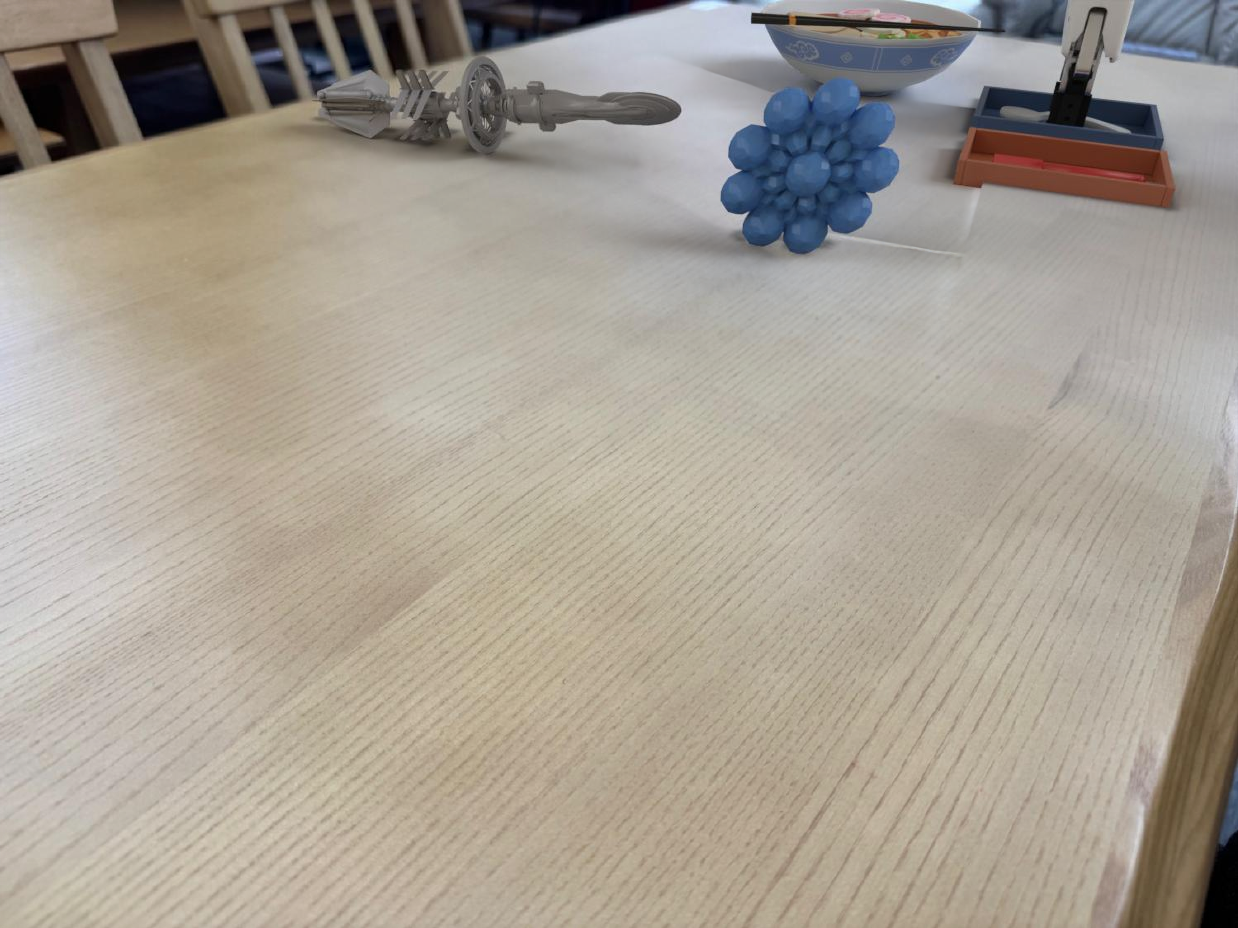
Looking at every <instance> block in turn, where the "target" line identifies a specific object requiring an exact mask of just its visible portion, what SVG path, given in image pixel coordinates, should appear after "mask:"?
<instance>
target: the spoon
mask: <svg viewBox="0 0 1238 928" xmlns="http://www.w3.org/2000/svg"><path fill="white" fill-rule="evenodd" d="M1049 113H1050V112H1036V111H1033V110H1029V109H1025V108H1020V107H1013V106H1004V107H1002V108H1001V110H1000V116H1001V118H1008V119H1016V120H1024V121H1033V122H1041V121H1046V120H1048V117H1049ZM1084 126H1085V127H1088V128H1091V129H1099V130H1108V131H1116V132H1125V133H1131V132H1130V131H1129V130H1127V129H1124V128H1122V127H1119V126H1116V125H1112V124H1109V123H1106V122H1103V121H1100V120H1096V119H1093V118H1090V117H1086V120H1085V123H1084Z"/></svg>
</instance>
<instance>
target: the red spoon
mask: <svg viewBox="0 0 1238 928" xmlns="http://www.w3.org/2000/svg"><path fill="white" fill-rule="evenodd" d="M992 162H994V163H1002V164H1009V165H1017V166H1025V167H1032V168H1040V169H1047V170H1055V171H1062V172H1070V173H1077V174H1085V175H1093V176H1100V177H1108V178H1115V179H1123V180H1130V181H1138V182H1145V183H1147V181H1146V180H1145V177H1144V176H1142V175H1138V174H1131V173H1123V172H1115V171H1108V170H1100V169H1092V168H1085V167H1077V166H1069V165H1062V164H1054V163H1046V162H1043V160H1041V159H1033V158H1025V157H1017V156H1010V155H1002V154H994V158H993V161H992Z"/></svg>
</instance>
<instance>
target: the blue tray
mask: <svg viewBox="0 0 1238 928" xmlns="http://www.w3.org/2000/svg"><path fill="white" fill-rule="evenodd" d="M1053 93H1054V92H1044V91H1037V90H1028V89H1027V90H1026V89H1019V88H1009V87H1002V86H1001V87H1000V86H992V85H991V86H990V85H983V88H982V90H981V94H980V96H979V100H978V101H977V104H976V105H977V106H976V109H975V110H974V114H973V117H972V121H971V126H970V127H974V128H982V129H990V130H998V131H1006V132H1015V133H1023V134H1031V135H1039V136H1047V137H1055V138H1063V139H1071V140H1079V141H1087V142H1095V143H1104V144H1112V145H1120V146H1128V147H1136V148H1144V149H1152V150H1159V151H1162V147H1163V144H1164V142H1165V136H1164V132H1163V127H1162V123H1161V119H1160V114H1159V110H1158V109H1159V108H1158V105H1157V104H1152V103H1145V102H1144V103H1143V102H1136V101H1126V100H1118V99H1117V100H1116V99H1109V98H1099V97H1092V99H1091V102H1090V106H1089V109H1088V113H1087V116H1086V117H1090V118H1093V119H1096V120H1100V121H1103V122H1106V123H1109V124H1112V125H1116V126H1119V127H1122V128H1124V129H1127V130H1129V131H1130V132H1131V133H1125V132H1116V131H1108V130H1099V129H1091V128H1088V127H1085V126H1084V127H1074V126H1066V125H1058V124H1049V123H1046V121H1041V122H1033V121H1024V120H1016V119H1008V118H1001V116H1000V110H1001V108H1002V107H1004V106H1013V107H1020V108H1025V109H1029V110H1033V111H1036V112H1049V108H1050V104H1051V100H1052V96H1053Z"/></svg>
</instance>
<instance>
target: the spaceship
mask: <svg viewBox="0 0 1238 928" xmlns="http://www.w3.org/2000/svg"><path fill="white" fill-rule="evenodd" d="M417 72H418V73H417V75H416V73H415V71H414V69H407V71H406V73H407V76H408V79H409V81H408V80H407V77H406V75H405V73H404V72H403V70H402V69H396V70H395V74H396V77H397V79H398V83H399V85H400V87H399V90H400V92H399V94H398V97H395V96H390V83H388V82H387V81H386V80H385V79H383V78H382V77H381V76H379V75H378V74H377V73H375V72H374V71H373V70H372V69H368V70H366V71H363V72H360V73H357V74H355V75H352V76H349V77H346V78H344V79H341V80H339V81H336V82H334V83H332V84H331V85H330V86H327V87H325V88H323V89H320V90H317V92H316V98H317V99H311V101H312V102H317V103H320V105H321V107H319V108H318V114H317V115H318V116H319V117H321V118H323V119H325V120H328V121H330V122H332V124H334V125H337V126H338V127H341V128H343V129H346V130H348V131H351V132H354V133H357V134H359V135H361V136H364V137H366V138H369V139H372V138H374V137H375V136H376V135H378V134H379V133H381V132H382V131H384V130H385V129H387V127H389V126H390V125H391V120H392V119H393V120H395V119H397V116H398V114H399V112H400V113H402V115H401V117H400V118H401V120H407V119H408V118H411V119H412V122H414V123H412V124H411V126H410V127H409V128H407V130H406V131H405V132H404V133H403V134H402V135H401V137H400V138H399V140H401V141H402V140H404V141H405V140H406V139H407V138H408V137H409V136H410V135H412V134H413V132H414V131H415V130H416V129H418V130H417V131H416V133H415V134H413V136H412V137H411V138H410V140H411V141H416V140H417V139H419V138H420V137H421V136H422V138H421V141H428V140H429V139H430V138H431V137H432V136H433V138H434V139H440V138H441V134H440V131H439V129H440V130H441V132H442V134H443V136H444V138H445V139H451V138H452V134H451V132H450V127H449V125H448V123H447V122H448V121H449V120H448V117H449V116H450V113H454V115H455V117H456V119H457V120H459V121H460V122H461V126H462V130H463V133H464V135H465V137H466V140H467V141H468V143H469V145H470V146H471V147H472V149H473V150H475V151H476V152H477V153H479V154H481V155H489V154H491V153H493V152H494V151H496V150H497V149H498V147H500V145H501V143H502V141H503V139H504V137H505V133H506V129H507V124H508V122H511V123H514V124H517V126H522V124H538V128H539V130H540V131H542V133H543V132H544V133H545V132H546V133H547V132H549V133H554V132H555V131H556V129H557V125H564V124H568V123H572V122H577V121H606V122H608V123H611V124H613V125H617V126H618V125H620V126H643V127H646V126H647V127H648V126H658V125H659V126H660V125H664V124H667V123H670V122H673V121H674V120H677V119H678V118H679V117H680V115H681V114H682V107H681V105H680V103H678V102H677V101H675V100H674V99H672V98H670V97H668V96H665V95H663V94H658V93H653V92H645V91H632V92H631V91H630V92H629V91H609V92H606V93H604V94H602V95H581V94H577V93H573V92H570V91H569V92H568V91H565V90H560V89H546V88H545V85H544V82H543V81H541V80H530V81H529V82H528V83H527V84H526V85H525V86H526V88H525V89H523V88H521V89H520V88H517V86H513V87H512V88H506V84H505V80H504V77H503V74H502V72H501V70H500V68H499V67H498V65H497V64H496V63H495V61H494V60H493V59H491V58H489V57H488V56H485V55H479V56H476V57H475V58H473V59H472V60H471V61H470V62H469V63H468V64H467V66H466V68H465V70H464V72H463V75H462V78H461V82H460V85H459V86H457V87H456V88H455V91H451V92H450V95H449V97H448V98H447V97H445V96H446V94H447V92H446V91H441V92H439V91H436V90H435V89H436V86H437V85H438V84H439V83H440V82H441V81H442V80H443V79H444V77H445V76H447V74H448V73H449V72H450V71H449V70H443V71H442V72H441V73H440V74H438V75H437V76H436V77H435V78H434V79H433V80H432V81H430V80H431V79H432V78H433V77H434V76H435V75H436V74H437V73H438V70H432V71H431V72H429V73H428V74H427V72H428V71H427V70H425V69H419V70H418V71H417ZM419 80H420V81H419ZM484 86H485V87H487V88H485V90H484ZM428 129H430V130H428Z"/></svg>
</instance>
